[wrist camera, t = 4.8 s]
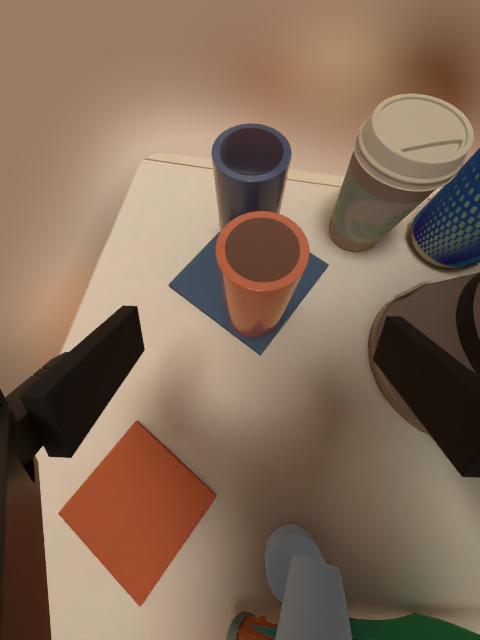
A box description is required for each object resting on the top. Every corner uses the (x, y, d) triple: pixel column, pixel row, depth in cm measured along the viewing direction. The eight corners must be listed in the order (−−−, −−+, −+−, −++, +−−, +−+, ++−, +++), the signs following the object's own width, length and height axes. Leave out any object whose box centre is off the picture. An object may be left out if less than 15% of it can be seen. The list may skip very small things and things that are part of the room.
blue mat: (327, 266, 28) (328, 264, 28) (260, 355, 25) (260, 354, 25) (240, 211, 31) (240, 209, 30) (169, 286, 28) (168, 284, 27)
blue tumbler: (283, 237, 29) (307, 145, 19) (252, 273, 28) (260, 194, 17) (243, 212, 30) (244, 111, 20) (211, 245, 29) (194, 155, 18)
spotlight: (315, 631, 18) (327, 522, 21) (394, 871, 9) (402, 625, 11) (251, 609, 19) (269, 505, 21) (261, 818, 9) (293, 590, 12)
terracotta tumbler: (293, 305, 26) (327, 241, 16) (259, 349, 25) (273, 310, 14) (248, 274, 28) (253, 195, 17) (213, 314, 26) (195, 255, 16)
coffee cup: (309, 249, 29) (354, 151, 18) (326, 195, 32) (375, 79, 20) (383, 271, 28) (479, 182, 17) (394, 213, 31) (484, 102, 19)
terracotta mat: (216, 494, 21) (216, 496, 21) (142, 603, 19) (140, 607, 19) (137, 420, 23) (135, 421, 23) (61, 511, 21) (57, 513, 21)
